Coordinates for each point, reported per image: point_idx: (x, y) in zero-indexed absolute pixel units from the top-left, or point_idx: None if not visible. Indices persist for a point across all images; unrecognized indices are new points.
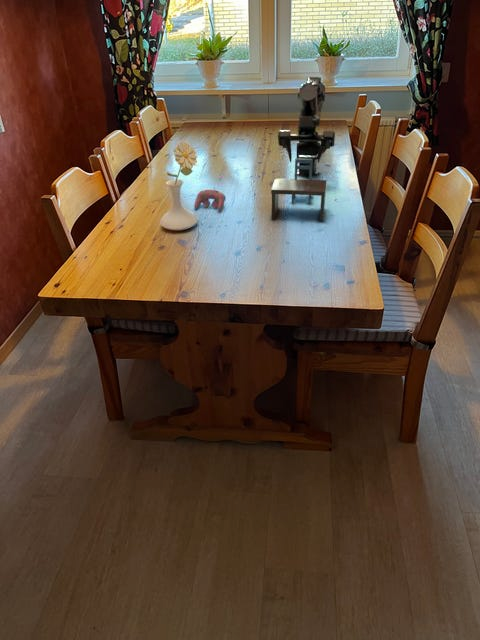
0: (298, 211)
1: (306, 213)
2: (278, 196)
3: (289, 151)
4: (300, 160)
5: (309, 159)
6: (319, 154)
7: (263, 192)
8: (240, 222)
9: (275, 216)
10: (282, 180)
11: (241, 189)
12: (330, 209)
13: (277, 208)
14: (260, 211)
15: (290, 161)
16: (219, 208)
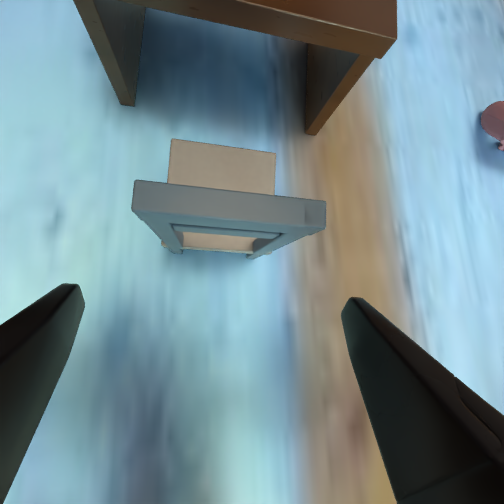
0: (228, 104)
1: (196, 83)
2: (327, 100)
3: (429, 366)
4: (269, 198)
5: (170, 186)
6: (11, 336)
7: (379, 307)
8: (407, 34)
9: (309, 50)
10: (354, 1)
11: (464, 337)
12: (91, 115)
13: (310, 98)
14: (362, 114)
15: (350, 302)
16: (496, 102)
